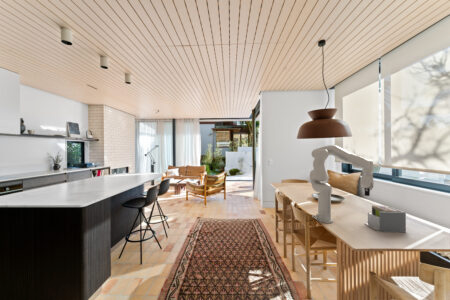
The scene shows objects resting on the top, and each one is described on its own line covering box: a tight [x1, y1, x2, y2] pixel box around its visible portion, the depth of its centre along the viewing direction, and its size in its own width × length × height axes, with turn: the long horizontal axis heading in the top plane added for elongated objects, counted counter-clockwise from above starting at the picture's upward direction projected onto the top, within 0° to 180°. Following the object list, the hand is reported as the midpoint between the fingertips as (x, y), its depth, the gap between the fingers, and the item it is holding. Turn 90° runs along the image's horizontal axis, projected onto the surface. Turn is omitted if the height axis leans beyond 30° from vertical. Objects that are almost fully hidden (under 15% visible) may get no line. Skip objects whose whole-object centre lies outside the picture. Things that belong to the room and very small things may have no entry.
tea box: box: [371, 204, 399, 217], centre depth 146 cm, size 15×10×15 cm, turn 176°
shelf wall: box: [379, 206, 407, 233], centre depth 145 cm, size 17×14×14 cm
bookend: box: [364, 212, 381, 232], centre depth 146 cm, size 4×13×9 cm, turn 176°
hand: (367, 195), depth 165 cm, fingers closed
